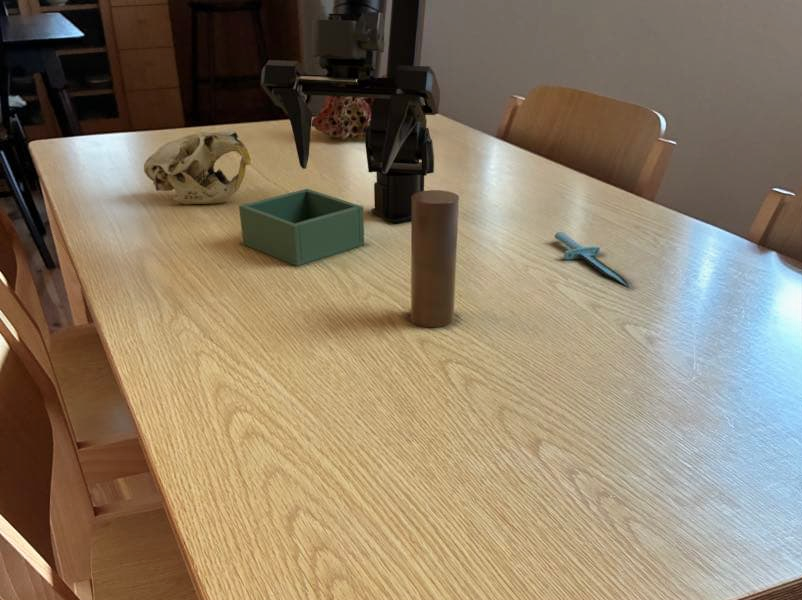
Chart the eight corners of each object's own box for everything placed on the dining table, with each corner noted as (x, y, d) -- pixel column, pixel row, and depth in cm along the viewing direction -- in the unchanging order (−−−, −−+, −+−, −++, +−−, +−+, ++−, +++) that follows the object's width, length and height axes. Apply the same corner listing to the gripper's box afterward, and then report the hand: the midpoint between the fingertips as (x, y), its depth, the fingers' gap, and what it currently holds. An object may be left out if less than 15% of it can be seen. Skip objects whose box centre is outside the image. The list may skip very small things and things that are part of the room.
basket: (309, 225, 115) (307, 188, 112) (364, 244, 109) (363, 206, 106) (243, 244, 109) (238, 205, 106) (296, 266, 102) (293, 226, 99)
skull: (248, 200, 118) (222, 126, 112) (156, 225, 123) (127, 155, 117) (271, 185, 125) (247, 115, 120) (183, 209, 130) (157, 143, 125)
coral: (423, 88, 159) (414, 75, 145) (406, 160, 164) (396, 153, 150) (334, 63, 159) (317, 47, 146) (320, 136, 164) (302, 127, 151)
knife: (647, 279, 98) (612, 285, 96) (645, 289, 98) (610, 294, 97) (574, 229, 109) (542, 233, 108) (573, 237, 110) (541, 242, 109)
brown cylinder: (437, 306, 92) (441, 187, 84) (462, 321, 89) (468, 198, 81) (402, 315, 90) (402, 194, 82) (426, 331, 87) (429, 206, 79)
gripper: (248, -28, 80) (234, 136, 82) (433, -24, 77) (414, 146, 79) (284, 30, 91) (271, 174, 93) (447, 36, 88) (430, 184, 90)
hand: (343, 170), depth 88 cm, fingers open, 9 cm apart
